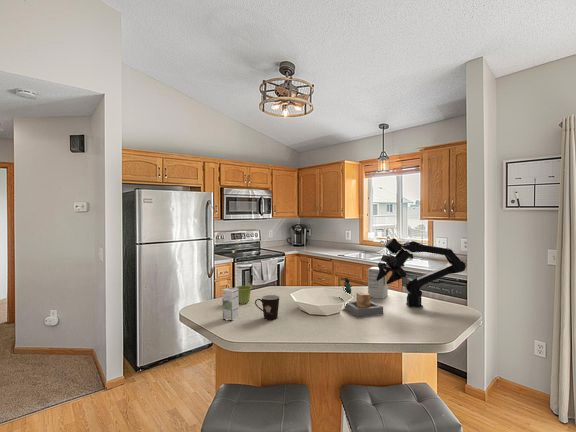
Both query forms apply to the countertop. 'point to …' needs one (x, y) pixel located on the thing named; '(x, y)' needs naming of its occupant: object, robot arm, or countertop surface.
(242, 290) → the plant pot
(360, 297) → the oak block
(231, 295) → the syrup box
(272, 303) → the coffee mug
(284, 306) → the countertop surface
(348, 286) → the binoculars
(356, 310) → the collar
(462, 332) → the countertop surface
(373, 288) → the supplement box
